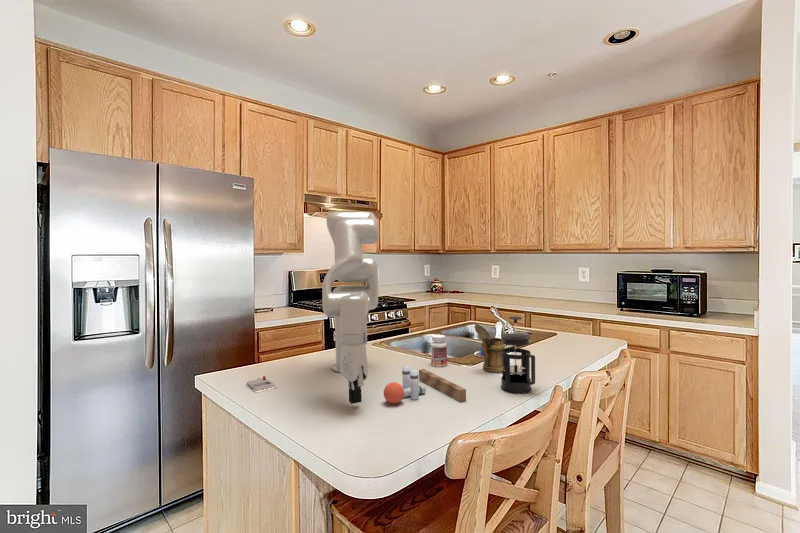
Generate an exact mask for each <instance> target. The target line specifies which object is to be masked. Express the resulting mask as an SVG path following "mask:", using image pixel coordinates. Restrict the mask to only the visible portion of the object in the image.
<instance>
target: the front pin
mask: <svg viewBox="0 0 800 533" xmlns="http://www.w3.org/2000/svg"><path fill="white" fill-rule="evenodd" d="M418 390H419V395H423V394H425V393H426V392H427V387H426V386H425V385H424V384H423V385H418ZM408 397H411V390H410V388H406V389H404V397H403V398H408Z"/></svg>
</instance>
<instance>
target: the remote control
mask: <svg viewBox="0 0 800 533" xmlns="http://www.w3.org/2000/svg"><path fill="white" fill-rule="evenodd" d="M247 385H248V386H250V387H251V388H252V389H254V390H255V391H259V390H264V389H268V388H272V387H275V386H276V384H275V383H273V381H271V380H269V379H268V378H266V375H264V376H262V378H259V377H257V379H252V380H248V381H246V386H247ZM248 386H247V387H248ZM251 388H250V389H251ZM252 389H251V390H252ZM255 391H254V392H255Z"/></svg>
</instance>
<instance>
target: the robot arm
mask: <svg viewBox="0 0 800 533" xmlns="http://www.w3.org/2000/svg"><path fill="white" fill-rule="evenodd" d="M325 220H326V227H327V230H328V233H329V236H330V237H331V239H332V242H333V243H332V244H333V246H334V263H333V265H332V266H331V267H330V268H329V269H328V271H327V272H326V274H325V276H324V279H323V282H322V292H321V293H322V296H321V297H322V301H321V302H322V311H323V313H324V315H325V316H326V317H328V318H334V330H335V331H334V334H335V335H334V336H335V338H334V339H335V340H334V341H335V363H334V364H332V365H331V369H332V371H334V372H336V373H340V375H341V376H342V377H344V378H345V379H346V380H347V386H348V402H349V403H350V404H351V405H354V404H359V403H361V402H362V401H363V400H362V388H363V386H364V385H365V382H364V381H366V380H367V379H368V358H367V357H368V356H367V349H366V345H367V344H368V326H367V325H368V322H367V314H368V313H369V311H371V310H374V309H375V310H376V308H377V307H378V305H379V271H378V270H379V269H378V268H379V267H378V263H377V261H376V260H377V259H375V258H374V257H370V256H363V246H362V245H373V244H377V242H379V240H380V227H379V222H378V220H377V217H376V216H375V214H374V213H373V212H371V211H333V212H330V213H328V214H327V216H326V219H325ZM335 281H338V282H341V283H365V285H364V284H360V285H355V284H353V285H341V286H337V287H335V288H334V289H333V290H332V287H333V284H334V282H335Z"/></svg>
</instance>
